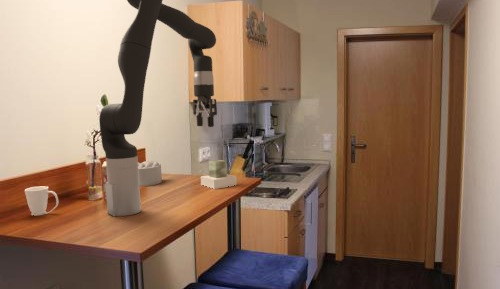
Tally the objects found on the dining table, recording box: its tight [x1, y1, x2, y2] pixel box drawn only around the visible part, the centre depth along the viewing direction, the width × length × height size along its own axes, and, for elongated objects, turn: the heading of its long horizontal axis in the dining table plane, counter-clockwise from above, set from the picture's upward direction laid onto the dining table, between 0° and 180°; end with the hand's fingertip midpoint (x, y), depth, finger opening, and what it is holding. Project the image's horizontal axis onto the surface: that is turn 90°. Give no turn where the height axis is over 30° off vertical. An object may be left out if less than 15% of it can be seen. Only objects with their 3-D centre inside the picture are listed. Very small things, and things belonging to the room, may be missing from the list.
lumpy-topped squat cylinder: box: [138, 160, 163, 187], centre depth 185 cm, size 10×13×9 cm
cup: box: [24, 185, 59, 217], centre depth 139 cm, size 7×10×8 cm
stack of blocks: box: [101, 160, 108, 202], centre depth 166 cm, size 21×6×12 cm, turn 14°
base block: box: [200, 173, 237, 190], centre depth 175 cm, size 10×10×4 cm
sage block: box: [208, 159, 228, 178], centre depth 174 cm, size 5×5×6 cm
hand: (205, 126), depth 172 cm, fingers open, 8 cm apart
